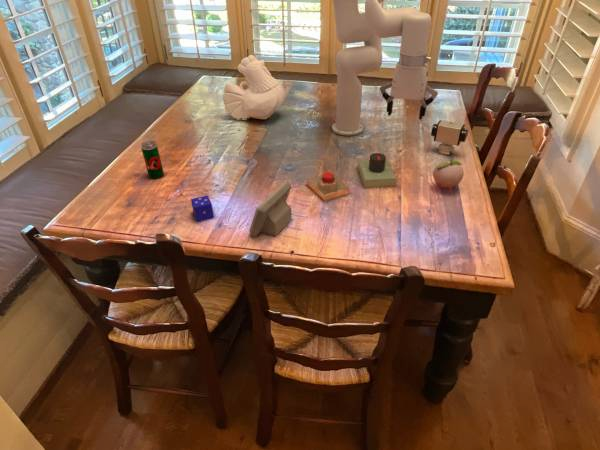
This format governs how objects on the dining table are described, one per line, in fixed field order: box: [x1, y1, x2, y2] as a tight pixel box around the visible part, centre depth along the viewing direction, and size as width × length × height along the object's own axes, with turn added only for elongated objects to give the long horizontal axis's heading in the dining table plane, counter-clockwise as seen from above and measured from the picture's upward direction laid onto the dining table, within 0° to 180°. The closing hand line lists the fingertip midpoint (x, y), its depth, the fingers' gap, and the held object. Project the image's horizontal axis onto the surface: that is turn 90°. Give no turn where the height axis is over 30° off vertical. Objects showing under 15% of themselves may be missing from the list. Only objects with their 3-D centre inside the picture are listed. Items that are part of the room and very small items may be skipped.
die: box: [190, 195, 215, 222], centre depth 128 cm, size 5×5×5 cm
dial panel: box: [357, 158, 397, 188], centre depth 145 cm, size 13×10×3 cm
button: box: [321, 171, 335, 182], centre depth 137 cm, size 4×4×2 cm
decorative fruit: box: [432, 159, 465, 189], centre depth 136 cm, size 9×8×10 cm
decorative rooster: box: [222, 54, 286, 121], centre depth 182 cm, size 25×16×25 cm
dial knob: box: [368, 152, 387, 173], centre depth 142 cm, size 5×5×5 cm
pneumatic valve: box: [430, 119, 469, 156], centre depth 155 cm, size 6×12×12 cm, turn 61°
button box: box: [306, 173, 350, 202], centre depth 139 cm, size 11×9×4 cm
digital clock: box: [249, 181, 292, 237], centre depth 122 cm, size 16×9×11 cm, turn 140°
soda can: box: [140, 140, 165, 180], centre depth 145 cm, size 5×5×12 cm
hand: (405, 116), depth 136 cm, fingers open, 9 cm apart
